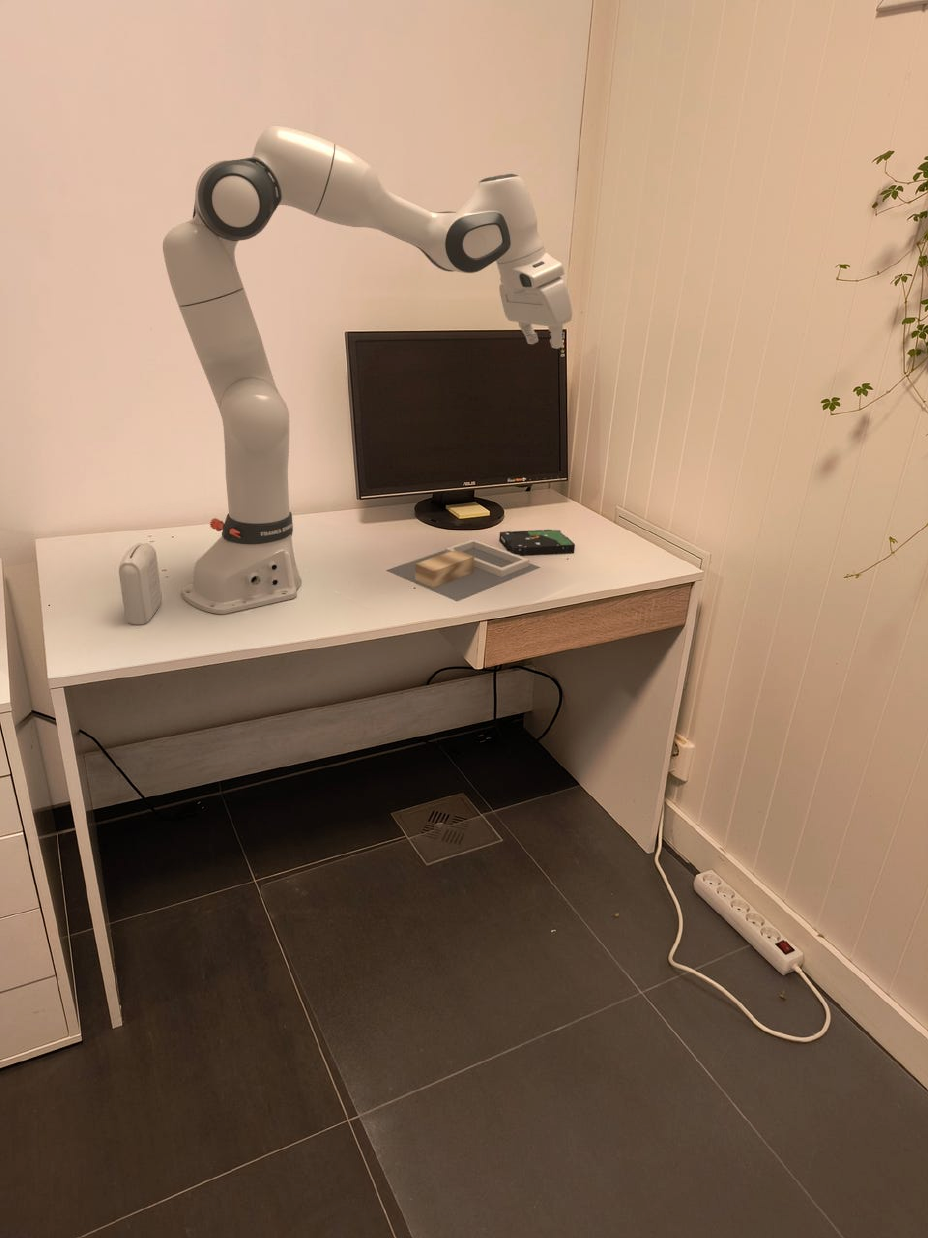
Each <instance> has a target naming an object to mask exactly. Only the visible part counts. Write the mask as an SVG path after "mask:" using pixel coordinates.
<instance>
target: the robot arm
mask: <svg viewBox="0 0 928 1238" xmlns="http://www.w3.org/2000/svg"><path fill="white" fill-rule="evenodd" d="M194 195H195V196H194V205H193V206H194V207H193V213H192V218H191V219H190V220H188V221H185V222H183V223H180V224H177V225H176V226H174V227H173V228H172V229H171V230H169V231H168V233H166V235H165V236H164V239H163V242H162V253H163V258H164V262H165V268H166V271H167V275H168V279H169V282H170V285H171V288H172V292H173V296H174V298H175V301H176V303H177V305H178V309H179V312H180V314H181V316H182V319H183V321H184V324H185V326H186V329H187V331H188V334H189V336H190V339H191V343H192V345H193V347H194V349H195V351H196V355H197V357H198V359H199V362H200V365H201V367H202V370H203V372H204V374H205V378H206V379H207V382H208V385H209V387H210V389H211V392H212V395H213V397H214V400H215V402H216V406H217V408H218V410H219V413H220V416H221V420H222V425H223V441H224V459H225V480H226V481H225V483H226V495H227V496H226V497H227V505H228V506H227V507H228V514H227V515H226V518H225V522H224V521H222V520H220V519H218V518H216V517H215V518H212V519H211V520H210V522H209V527H210V528H211V529H212V530H216V531H217V532H221V531H222V532H221V536H220V537H219V538H218V539H217V540H216V542H214V544H212V546H210V547H209V548H208V549H207V550H206V552H204V553H203V555H201V556H200V557H199V558H198V559H197V560H196V562H195V563H194V567H193V568H194V569H193V576H192V582H191V583H188V584H186V585H183V586H182V588H181V596H182V598H183V599H184V600H185V602H187V603H188V604H189V605H192V606H193V607H195V608H196V609H199V610H200V611H201V610H202V611H203V612H208V613H212V614H218V615H225V614H230V613H235V612H238V611H239V612H240V611H243V610H249V609H252V608H257V607H261V606H265V605H271V604H275V603H279V602H283V601H287V600H292V599H295V598H296V597H297V595H298V593H297V591H298V589H299V588H300V586H301V584H302V579H301V576H300V573H299V571H298V567H297V562H296V559H295V554H294V553H295V552H294V549H293V548H294V547H293V539H292V535H293V532H294V525H293V514H292V512H291V511H290V497H289V496H290V494H289V493H290V492H289V473H288V472H289V470H288V469H289V458H290V457H289V456H290V454H289V453H290V413H289V408H288V406H287V403H286V401H285V400H284V398H283V397H282V395H281V393H280V391H279V390H278V388H277V385H276V382H275V380H274V376H273V374H272V371H271V367H270V363H269V361H268V358H267V353H266V351H265V347H264V343H263V339H262V336H261V334H260V331H259V328H258V325H257V321H256V319H255V317H254V313H253V311H252V308H251V304H250V303H249V302H250V301H249V299H248V296H247V293H246V290H245V287H244V285H243V282H242V279H241V276H240V273H239V270H238V266H237V264H236V257H235V256H236V255H235V254H236V253H235V251H236V247H237V244H238V242H240V241H246V240H250V239H252V238H254V237H256V236H257V235H259V234H260V233H261V232H262V231H263V230H264V229H265V227H266V226H267V225H268V223H269V222H270V220H271V218H272V217H273V215H274V214H275V212H276V211H277V208H278V207H279V206H288V207H292V208H295V209H297V210H300V211H302V212H304V213H307V214H309V215H312V216H314V217H316V218H318V219H321V220H324V221H326V222H330V223H333V224H337V225H341V226H345V227H351V228H368V229H374V230H377V231H381V232H383V233H385V234H387V235H390V236H392V237H394V238H396V239H397V240H398V239H399V240H401V241H403V242H404V243H408V244H410V245H412V246H414V247H415V248H418V249H419V251H421V252H422V253H423V255H424V256H425V257H426V258H427V259H428V260H429V261H430V262H431V264H433V265H434V266H435V267H436V268H438V269H440V270H442V271H444V272H451V273H452V272H453V273H454V272H457V273H464V274H476V273H477V272H481V271H482V270H485V269H486V268H487V267H489V266H490V265H492V264H493V263H494V262H496V265H497V268H498V272H499V276H500V279H499V280H500V284H499V295H500V300H501V304H502V308H503V313H504V315H505V317H506V319H507V320H508V321H509V322H513V323H515V322H516V323H518V326H519V329H520V331H522V333H523V334H524V337H525V339H526V342H527V344H529V345H535V344H536V343H538V342H539V338H538V333H537V332H535V330H534V328H533V325H536V326H545V327H548V331H549V332H550V335H551V338H550V339H549V343H550V347H551V348H553V349H560V348H562V347H563V346H564V341H563V337H562V336H563V329H564V328H563V325H566V324H568V323H569V322H571V321H572V317H573V308H572V303H571V299H570V295H569V291H568V287H567V283H566V282H565V280H564V279H563V278H562V276H564V275H565V269H564V265H563V264H562V262H560V261H559V260H557V259H555V258H554V257H553V256H552V255H550V254H549V253H548V252H546V249H545V248H546V247H545V246H544V242H543V241H542V239H541V236H540V235H539V232H538V219H537V218H538V217H537V215H536V212H535V207H534V205H533V202H532V198H531V195H530V192H529V190H528V188H527V186H526V183H525V181H524V179H523V178H522V177H521V176H519V175H517V174H514V173H506V174H499V175H494V176H489V177H485V178H483V179H481V180H480V181H479V182H478V183H477V186H476V188H475V190H474V191H473V193H472V194H471V196H470V197H469V199H467V201H466V202H465V204H464V205H463V206H461V208H460V209H458V210H457V211H438V212H436V211H431V210H427V209H425V208H423V207H421V206H420V205H417V204H415V203H413V202H411V201H409V200H406V199H404V198H402V197H400V196H398V195H396V194H394V193H392V192H390V191H389V190H388V189H387V188H385V186H384V185H383V184H382V183H381V181H380V180H379V178H378V176H377V173H376V171H375V169H374V168H373V167H372V165H371V164H370V163H367V161H365V160H364V159H362V158H361V157H359V156H358V155H357V154H355V153H353V152H352V151H350V150H349V149H346V148H345V147H343V146H340V145H339V144H337V143H334V142H332V141H330V140H328V139H325V138H322V137H320V136H317V135H315V134H312V133H309V132H306V131H304V130H303V131H302V130H301V129H300V130H299V129H296V128H292V127H287V126H283V125H272V126H270V127H268V128H266V129H265V130H264V131H263V132H262V133H261V135H260V136H259V137H258V139H257V141H256V143H255V147H254V150H253V153H252V155H251V156H250V157H245V158H241V159H232V160H220V161H217V162H214V163H212V164H210V165H209V166H207V167H206V168H205V169H204V170H203V172H202V173H201V174H200V176H199V178H198V180H197V183H196V187H195V194H194Z"/></svg>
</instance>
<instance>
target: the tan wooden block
mask: <svg viewBox="0 0 928 1238" xmlns="http://www.w3.org/2000/svg"><path fill="white" fill-rule="evenodd" d="M473 571H474V556H472V555H469V554H467V553H464V552H461V551H459V550H454V551H451V552H448V553H446V554H443V555H440V556H437V557H434V558H431V559H428V560H425V561H422V562H419V563H416V564H415V580H416V581H418V582H421V583H423V584H425V585H428V586H430V587H432V588H433V587H436V586H438V585H441V584H444V583H446V582H449V581H452V580H454V579H457V578H460V577H462V576H465V575H468V574H470V573H473Z"/></svg>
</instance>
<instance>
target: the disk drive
mask: <svg viewBox="0 0 928 1238" xmlns="http://www.w3.org/2000/svg"><path fill="white" fill-rule="evenodd" d="M561 531H562V530H560V529H537V530H535V529H533V530H516V531H515V530H514V531H506V530H505V531H500V532H499V537H498V538H499V540H498V541H499V543H500V544H501V545H502V546H503V547H504V548H505V549H506V550H505V551H507V552H510V553H512V554H515V555H518V556H521V557H529V556H549V555H551V556H552V555H567V554H569V555H570V554H575V551H576V550H575V548H576V544H575V543H574V542H573V541H572V540H571V539H570V538H569V537H568V536H566V535H565V534H564V533H563V532H561Z"/></svg>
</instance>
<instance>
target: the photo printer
mask: <svg viewBox="0 0 928 1238" xmlns="http://www.w3.org/2000/svg"><path fill="white" fill-rule="evenodd" d="M159 573H160V572H159V567H158V558H157V552H156V549H155V548H154V547H153V545H151V544H150V543H145V542H144V543H140V542H139V543H136V544H134V545H133V546H131V547H130V548H129V549H128V550H127V551H126V552H125V554H124V555H123V556H122V559H121V560H120V563H119V566H118V575H119V584H120V590H121V596H122V603H123V610H124V617H125V621H126V623H129V624H130V625H134V626H135V625H144V624H146V623H148V622H149V621H150V620H151V619H152V618H153V617H154V615H155V614H156V613H157V610H158V609H159V608H160V607H161V604H162V600H163V599H162V589H161V581H160V574H159Z"/></svg>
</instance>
